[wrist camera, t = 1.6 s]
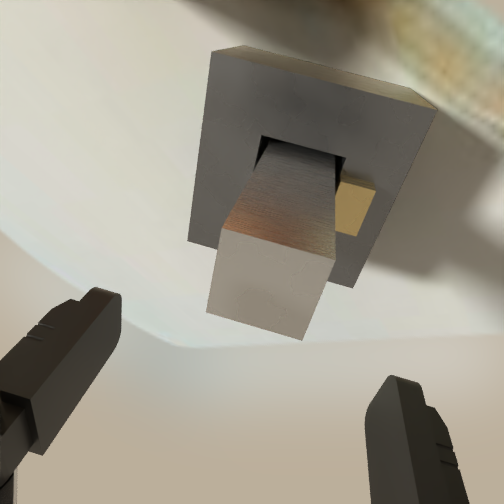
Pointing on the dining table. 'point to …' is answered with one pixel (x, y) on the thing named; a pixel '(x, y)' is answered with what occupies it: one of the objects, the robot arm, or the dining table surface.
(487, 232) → the dining table surface
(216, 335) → the dining table surface
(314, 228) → the column
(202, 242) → the base
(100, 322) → the robot arm
